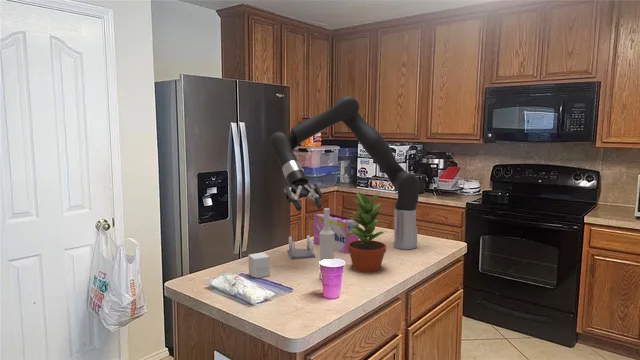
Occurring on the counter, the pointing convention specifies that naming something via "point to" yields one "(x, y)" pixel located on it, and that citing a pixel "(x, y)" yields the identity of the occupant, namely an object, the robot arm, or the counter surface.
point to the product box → (259, 265)
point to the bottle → (326, 238)
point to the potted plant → (366, 237)
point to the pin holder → (301, 250)
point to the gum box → (336, 231)
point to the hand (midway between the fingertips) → (310, 208)
